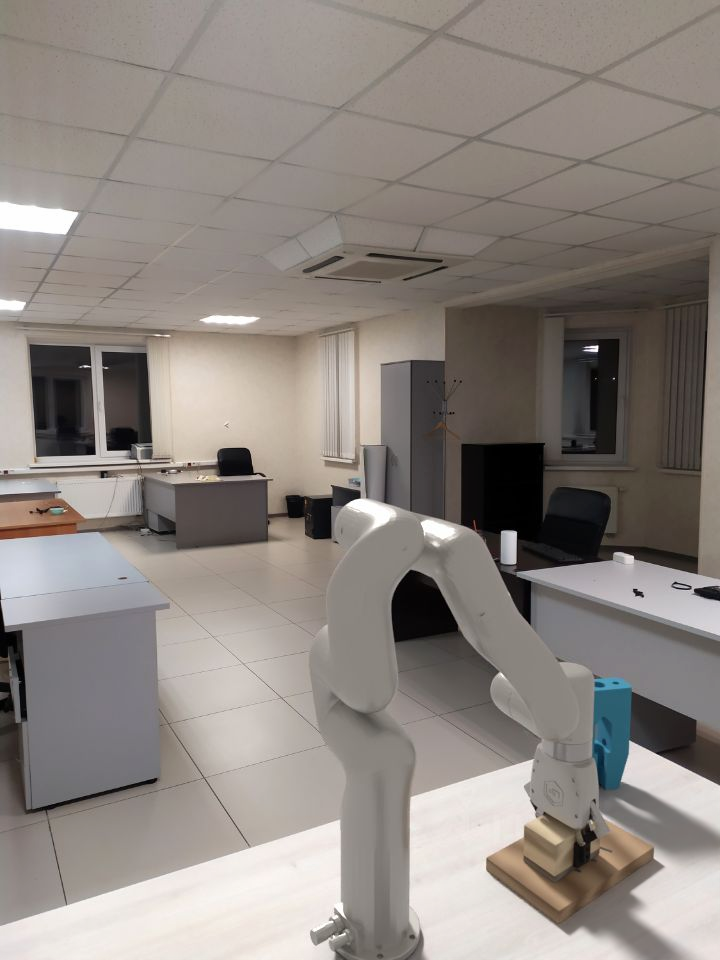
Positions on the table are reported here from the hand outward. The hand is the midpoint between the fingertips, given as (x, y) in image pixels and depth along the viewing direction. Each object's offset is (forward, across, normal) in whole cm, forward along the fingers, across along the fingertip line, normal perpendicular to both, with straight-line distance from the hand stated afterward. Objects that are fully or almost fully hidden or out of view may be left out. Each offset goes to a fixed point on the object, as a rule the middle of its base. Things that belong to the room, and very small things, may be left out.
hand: (563, 851), depth 107 cm
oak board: (+3, 0, +2) cm, 4 cm away
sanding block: (+1, 0, 0) cm, 1 cm away
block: (+3, -12, +25) cm, 28 cm away
